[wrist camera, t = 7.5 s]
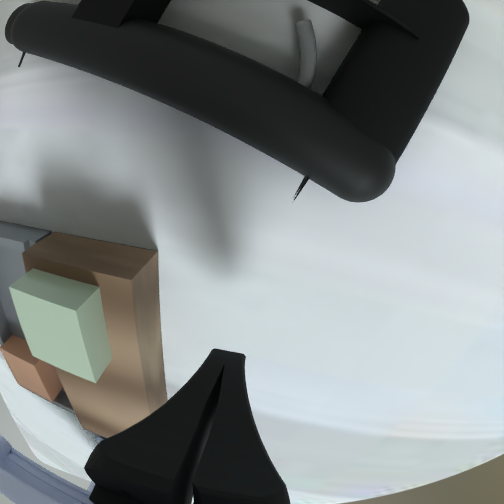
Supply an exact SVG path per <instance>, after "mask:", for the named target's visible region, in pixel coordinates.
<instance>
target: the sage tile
mask: <svg viewBox="0 0 504 504" xmlns="http://www.w3.org/2000/svg"><path fill="white" fill-rule="evenodd" d="M9 289H10V292H11V296H12V299H13V303H14V306H15V309H16V312H17V315H18V318H19V321H20V324H21V327H22V330H23V333H24V335H25V338H26V341H27V343H28V346H29V348H30V351H31V353H32V356H34V357H36V358H38V359H40V360H43V361H45V362H47V363H49V364H51V365H53V366H56V367H58V368H60V369H62V370H65V371H67V372H69V373H72V374H74V375H76V376H79V377H81V378H84V379H86V380H89V381H92V382H94V383H96V382H97V381H98V379H99V378H100V376H101V375H102V373H103V372H104V370H105V369H106V367H107V366H108V364H109V362H110V361H111V359H112V353H111V349H110V344H109V339H108V334H107V329H106V324H105V318H104V312H103V307H102V300H101V294H100V287H98V286H94V285H90V284H87V283H83V282H79V281H76V280H72V279H68V278H65V277H61V276H58V275H54V274H51V273H47V272H44V271H41V270H37V269H34V268H33V269H31V270H30V271H29V272H27V273H26V274H25V275H23V276H22V277H21V278H19V279H18V280H17V281H16V282H14V283H13V284H12V285H10V286H9Z"/></svg>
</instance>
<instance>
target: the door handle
mask: <svg viewBox="0 0 504 504" xmlns="http://www.w3.org/2000/svg"><path fill="white" fill-rule="evenodd" d="M170 1H171V0H81V2H80V4H79V5H73V4H66V3H58V2H50V1H39V2H35V3H27V4H24V5H22V6H20V7H18V8H17V9H16V10H15V11H14V12H13V13H12V14H11V16H10V17H9V19H8V21H7V24H6V27H5V37H6V39H7V41H8V42H9V43H11V44H14V46H15V47H16V48H17V49H19V50H20V51H23V54H22V57H21V60H20V63H19V65H18V67H20V65H21V63H22V60H23V58H24V56H25V53H30V54H33V55H36V56H40V57H43V58H46V59H50V60H53V61H56V62H59V63H62V64H65V65H68V66H71V67H74V68H77V69H79V70H82V71H85V72H88V73H91V74H93V75H96V76H99V77H101V78H104V79H107V80H109V81H112V82H114V83H117V84H119V85H122V86H124V87H127V88H129V89H132V90H134V91H137V92H139V93H141V94H144V95H146V96H149V97H151V98H153V99H155V100H158V101H160V102H162V103H165V104H167V105H169V106H171V107H173V108H176V109H178V110H180V111H182V112H184V113H186V114H189V115H191V116H193V117H195V118H197V119H199V120H201V121H203V122H205V123H207V124H209V125H211V126H213V127H215V128H217V129H219V130H221V131H223V132H225V133H227V134H229V135H231V136H233V137H235V138H237V139H239V140H241V141H243V142H245V143H247V144H248V145H250V146H252V147H254V148H256V149H258V150H260V151H261V152H263V153H265V154H267V155H269V156H271V157H272V158H274V159H276V160H278V161H279V162H281V163H283V164H285V165H287V166H288V167H290V168H292V169H293V170H295V171H297V172H299V173H300V174H302V175H304V176H305V177H304V179H303V181H302V183H301V184H300V186H299V188H298V190H297V192H298V191H299V192H298V193H297V192H296V193H297V195H296V194H295V195H296V197H297V196H298V194H299V193H300V191H301V190H302V188H303V187H304V185H305V184H306V182H307V181H308V180H309V179H310V180H312V181H314V182H315V183H317V184H319V185H320V186H322V187H324V188H325V189H327V190H329V191H330V192H332V193H333V194H335V195H337V196H338V197H340V198H342V199H344V200H347V201H351V202H366V201H370V200H373V199H375V198H377V197H379V196H380V195H382V194H383V193H384V192H385V191H386V190H387V189H388V187H389V186H390V184H391V182H392V180H393V178H394V174H395V166H396V163H397V161H398V160H399V158H400V156H401V155H402V153H403V151H404V150H405V148H406V146H407V144H408V143H409V141H410V139H411V137H412V136H413V134H414V132H415V130H416V128H417V127H418V125H419V123H420V121H421V119H422V118H423V116H424V114H425V112H426V110H427V108H428V106H429V105H430V103H431V101H432V99H433V97H434V95H435V93H436V91H437V89H438V87H439V85H440V84H441V82H442V80H443V78H444V76H445V74H446V72H447V70H448V68H449V65H450V63H451V61H452V59H453V57H454V55H455V53H456V51H457V49H458V47H459V44H460V42H461V40H462V38H463V36H464V33H465V31H466V29H467V27H468V24H469V13H468V10H467V8H466V6H465V4H464V2H463V1H462V0H381V1H380V2H379V4H378V6H377V5H376V4H374V3H372V2H371V1H369V0H308V1H310V2H312V3H314V4H316V5H319V6H321V7H323V8H325V9H327V10H328V11H330V12H332V13H334V14H336V15H338V16H340V17H342V18H343V19H345V20H347V21H349V22H351V23H352V24H354V25H356V26H357V27H359V28H361V29H363V30H362V31H361V33H360V35H359V36H358V38H357V39H356V41H355V43H354V44H353V46H352V48H351V49H350V51H349V52H348V54H347V56H346V57H345V59H344V61H343V62H342V64H341V66H340V67H339V69H338V71H337V72H336V74H335V76H334V77H333V79H332V81H331V82H330V84H329V85H328V87H327V89H326V90H325V92H324V94H323V96H321V95H320V94H318V93H316V92H314V91H313V90H311V89H310V87H311V85H312V82H313V78H314V74H315V69H316V41H315V35H314V30H313V26H312V22H311V20H300V21H297V22H296V23H295V27H296V31H297V35H298V41H299V48H300V70H299V77H298V81H297V82H296V81H294V80H293V79H291V78H289V77H287V76H285V75H283V74H281V73H279V72H277V71H275V70H273V69H271V68H269V67H267V66H265V65H263V64H261V63H259V62H256V61H254V60H252V59H250V58H248V57H246V56H243V55H241V54H239V53H236V52H234V51H232V50H229V49H227V48H225V47H222V46H220V45H217V44H215V43H212V42H210V41H207V40H204V39H202V38H199V37H196V36H193V35H191V34H188V33H185V32H182V31H179V30H176V29H173V28H170V27H167V26H164V25H160V24H157V23H158V21H159V19H160V18H161V16H162V14H163V13H164V11H165V9H166V8H167V6H168V4H169V3H170ZM299 189H300V190H299ZM296 197H295V199H296ZM295 199H294V200H295ZM293 202H294V201H293Z"/></svg>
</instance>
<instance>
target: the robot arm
mask: <svg viewBox="0 0 504 504" xmlns="http://www.w3.org/2000/svg"><path fill="white" fill-rule="evenodd" d="M245 358H246V356H245V355H244V354H241V353H236V352H230V351H225V350H220V349H213V350H212V351H211V352H210V354H209V356H208V357H207V358H206V360H205V361H204V363H203V364H202V365H201V367H200V368H199V369H198V370H197V371H196V373H195V374H194V375H193V376H192V377H191V378H190V380H189V381H188V382H187V383H186V384H185V385H184V386H183V387H182V388H181V389H180V390H179V391H178V392H177V393H176V394H175V395H174V396H173V397H171V398H170V399H169V400H168V401H167V402H166V403H165V404H163V405H162V406H161V407H160V408H158V409H157V410H156V411H154V412H153V413H151V414H150V415H149V416H147V417H146V418H144V419H143V420H141V421H139V422H138V423H136V424H134V425H132V426H131V427H129V428H127V429H125V430H124V431H122V432H120V433H117V434H115V435H113V436H111V437H108V438H106V439H102V438H99V437H97V438H96V442H97V443H98V445H97V446H96V447H95V449H94V450H93V451H92V453H91V455H90V457H89V459H88V461H87V463H86V465H85V467H84V469H85V471H86V473H87V474H88V476H89V477H90V478H91V479H92V481H91V483H90V485H89V487H88V490H85V489H83V488H81V487H78V486H76V485H74V484H73V483H71V482H69V481H67V480H65V479H63V478H61V477H59V476H57V475H56V474H54V473H52V472H50V471H49V470H47V469H45V468H43V467H42V466H40V465H38V464H37V463H35V462H33V461H32V460H30V459H29V458H27V457H26V456H24V455H23V454H21V453H20V452H18V451H17V450H15V449H14V448H12V446H11V445H10V443H9V442H8V441H7V440H6V439H5V438H4V437H2V436H1V435H0V492H1V493H2V494H4V495H5V496H6V497H7V498H9V499H10V500H12V501H13V502H14V503H16V504H191V502H192V498H193V497H194V503H193V504H290V499H289V495H288V492H287V488H286V485H285V483H284V482H283V480H282V479H281V477H280V475H279V474H278V472H277V471H276V469H275V467H274V465H273V463H272V462H271V460H270V458H269V456H268V454H267V451H266V449H265V447H264V445H263V443H262V441H261V438H260V435H259V433H258V430H257V427H256V424H255V422H254V418H253V415H252V411H251V407H250V403H249V399H248V394H247V388H246V381H245Z"/></svg>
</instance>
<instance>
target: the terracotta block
mask: <svg viewBox="0 0 504 504" xmlns="http://www.w3.org/2000/svg"><path fill="white" fill-rule="evenodd" d="M0 349H1V352H2V354H3V356H4V358H5V360H6V362H7V364H8V366H9V368H10V370H11V372H12V374H13V376H14V378H15V379H16V381H17V383H18V384H19V385H21V386H22V387H24V388H26V389H28V390H30V391H31V392H33V393H35V394H37V395H39V396H41V397H43V398H45V399H47V400H49V401H51V402H53V401H54V399H55V398H56V396H57V395H58V394H59V392H60V391H61V389H62V388H63V385H62V383H61V381H60V379H59V377H58V374H57V372H56V370H55V367H54V366H53V365H51V364H49V363H47V362H45V361H43V360H40V359H38V358H36V357H34V356H32V353H31V351H30V348H29V346H28V343H27V341H26V340H24V339H22V338H20V337H17V336H15V335H12V336H11V337H10V338H9V339H8V340H7V341H6V342H5V343H4V344H3V345H2V346H1V347H0Z"/></svg>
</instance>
